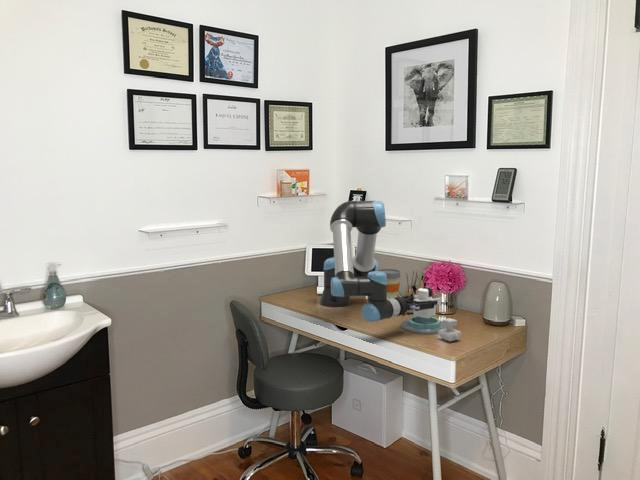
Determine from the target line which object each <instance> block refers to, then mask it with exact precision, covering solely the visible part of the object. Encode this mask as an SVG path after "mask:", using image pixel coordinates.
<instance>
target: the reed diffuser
mask: <svg viewBox="0 0 640 480" xmlns="http://www.w3.org/2000/svg"><path fill="white" fill-rule="evenodd" d="M414 273H416V274H415V277H412V278H411V283H413V281H414V283H413V284H411V287H410V286H409V285H407V290H408V292H409V294H408V296H409V297H410V294H413V295H414V290H415V287H416V283H417V280H418V277H419V274H418V272H415V271H414V270H413V271H412V276H414ZM406 275H408V273H406ZM414 278H415V279H414ZM406 280H407V283H409V279H408V276H406ZM409 287H410V288H409ZM412 288H413V289H412ZM410 290H412V291H410ZM407 313H410V314H411V313H413V309H412V310H407V312H406V313H405V314H404V315H407Z"/></svg>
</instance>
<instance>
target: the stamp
mask: <svg viewBox="0 0 640 480" xmlns="http://www.w3.org/2000/svg"><path fill="white" fill-rule="evenodd" d="M442 322H443V323H444V325H446V326H447V329H442V330H439V331H438V334H437V335H438V336H439V337H440V339H442V340H445V341H447V342H453V341H457V340H459V339H460V337H461V336H462V335H463V334H462V331H460V330H457V329H456V328H454V327H456V326H457V325H458V320H457V319H454V318H450V317H449V318H444V319H442Z"/></svg>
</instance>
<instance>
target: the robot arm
mask: <svg viewBox="0 0 640 480" xmlns="http://www.w3.org/2000/svg"><path fill="white" fill-rule="evenodd" d="M385 210H386V209H385V204H384V202H383V201H381V200H347V201H345V202H343V203H341V204H339V205H338V206H337V207H336V208H335V210H333V213H332V215H331V217H330V221H329V229H330V232H331V233H332V240H333V241H332V243H333V257H329V258H327V259H325V261H324V262H323V291H322V293H321V297H320V305H322V306H324V307H332V308H333V307H334V308H336V307H337V308H340V307H341V308H342V307H347V306H350V305H351V297H367V302H366V303H365V304H363V305H362V308H361V316H362V318H363V319H364V320H365V321H366V322H368V323H370V322H371V323H373V322H379V321H382V320H386V319H391V318H395V317H401V316H404V315H405V313H406V314H407V313H408V312H407V310H412V309H415V311H419V310H424V309H432V308H434V306H435V305H436V306H439V305H442V297H436V298H432V299H431V300H429V301H418V302H417V301H414V300H415V299H417V298H418V294H417V295H414V293H413V294H412V293H411V294H410V293H409V294H408V295H404V296H397V297H396V298H390V299H387V275H386V274H385V273H384V272H381V271H378V270H379V262H378V260H376V259H375V257H374V255H375V249H376V244H377V235H378V234H379V232H380V231H381V230H382V228H385V227H386V226H387V225H386V224H387V221H386V219H387V218H386V211H385ZM353 228H356V230H357V231H358V235H357V243H356V252H355V255H354V256H353V247H352V236H351V231H352V230H353ZM409 295H410V297H409Z"/></svg>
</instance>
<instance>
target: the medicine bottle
mask: <svg viewBox="0 0 640 480" xmlns="http://www.w3.org/2000/svg"><path fill="white" fill-rule="evenodd" d="M417 295H418V298H417V299H415V300H414V301H417V302H418V301H429V300H431V299H433V289H432V288H430V287H425V286H424V287H419V288H418V289H417ZM436 311H437V305H435V306H434V308H432V309H424V310H419V311H415V309H413V314H412V315H413V316H412V317H414V316H417V317H422V318H427V319H428V318H430V317H435V316H437V315H436V314H437V312H436Z"/></svg>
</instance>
